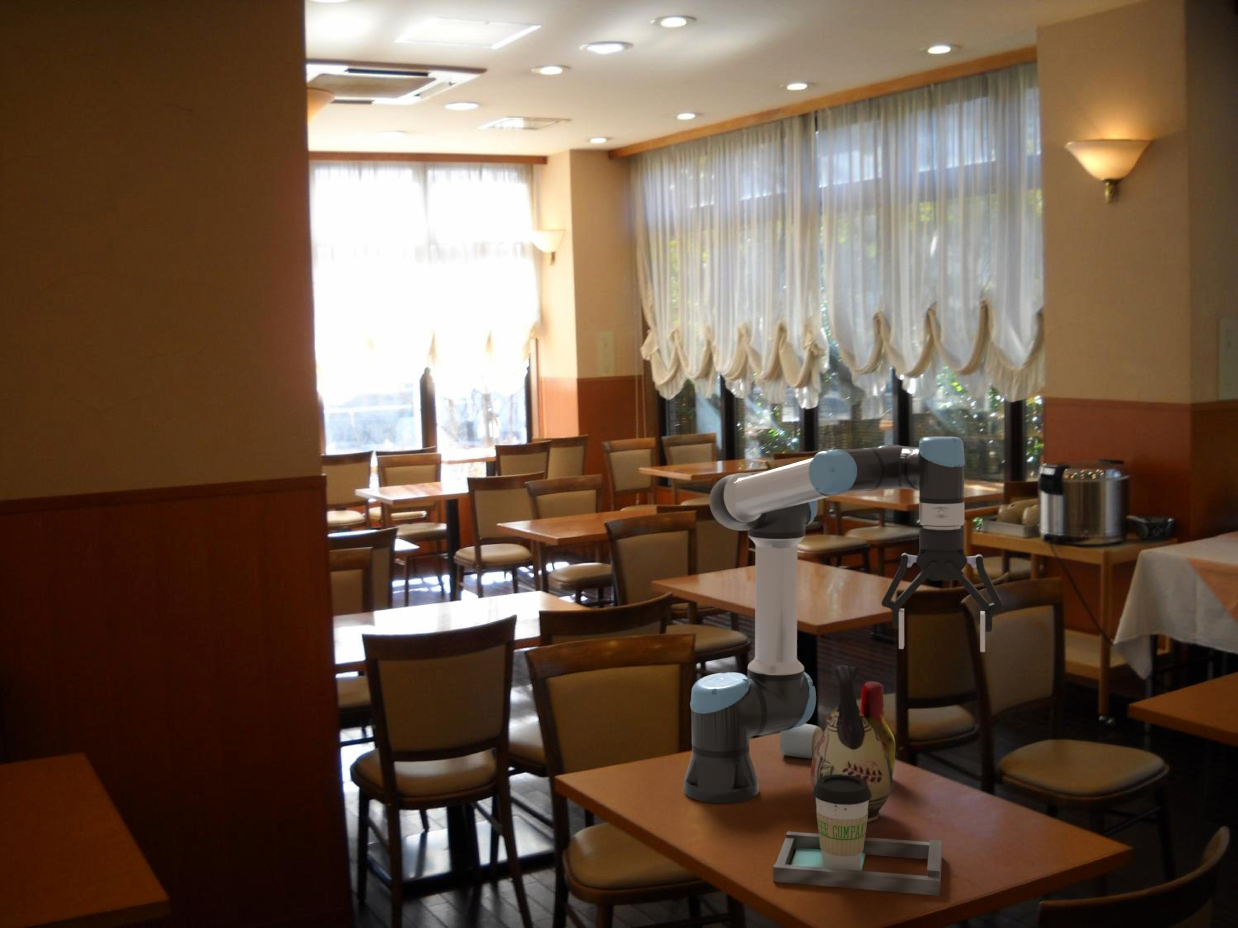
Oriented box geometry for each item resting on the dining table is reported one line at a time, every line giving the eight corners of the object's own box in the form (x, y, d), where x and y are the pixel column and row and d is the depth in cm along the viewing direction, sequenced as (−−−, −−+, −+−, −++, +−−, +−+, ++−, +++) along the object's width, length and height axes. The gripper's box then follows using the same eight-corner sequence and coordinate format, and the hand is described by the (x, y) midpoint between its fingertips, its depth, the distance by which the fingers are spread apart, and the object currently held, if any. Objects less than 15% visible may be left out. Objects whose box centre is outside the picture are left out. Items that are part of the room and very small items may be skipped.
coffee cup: (806, 875, 217) (806, 788, 215) (819, 852, 226) (820, 769, 224) (864, 883, 213) (865, 796, 212) (875, 861, 222) (876, 776, 221)
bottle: (902, 779, 268) (902, 684, 266) (881, 785, 264) (881, 689, 262) (859, 765, 277) (859, 674, 276) (839, 771, 274) (838, 678, 272)
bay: (773, 881, 216) (773, 860, 216) (787, 844, 232) (786, 825, 232) (939, 895, 209) (939, 874, 209) (941, 856, 225) (941, 837, 225)
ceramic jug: (813, 801, 255) (811, 651, 253) (892, 804, 252) (892, 653, 250) (807, 831, 239) (806, 672, 237) (893, 836, 236) (892, 674, 233)
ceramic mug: (815, 763, 280) (815, 728, 279) (779, 758, 283) (778, 724, 283) (829, 750, 289) (829, 716, 289) (794, 746, 293) (793, 713, 292)
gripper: (866, 528, 221) (866, 650, 223) (1018, 530, 215) (1018, 656, 216) (869, 523, 228) (870, 641, 230) (1016, 524, 222) (1016, 646, 223)
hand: (941, 648), depth 223 cm, fingers open, 13 cm apart
